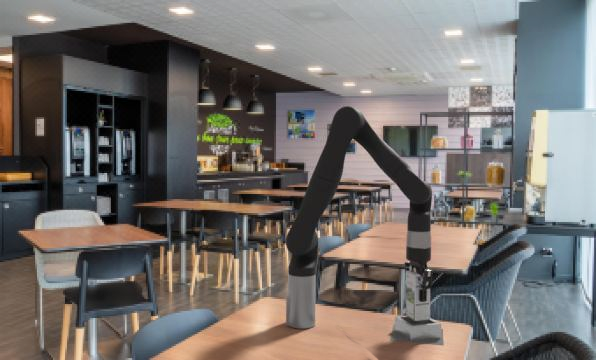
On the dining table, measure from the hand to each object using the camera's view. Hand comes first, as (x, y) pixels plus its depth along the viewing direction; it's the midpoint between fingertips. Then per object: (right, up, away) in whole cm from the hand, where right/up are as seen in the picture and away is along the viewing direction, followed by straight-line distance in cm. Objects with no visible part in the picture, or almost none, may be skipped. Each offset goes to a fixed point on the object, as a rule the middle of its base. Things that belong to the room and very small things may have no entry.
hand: (417, 298), depth 164 cm
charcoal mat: (0, -12, 0) cm, 13 cm away
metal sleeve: (0, -11, 0) cm, 11 cm away
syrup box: (0, -6, 0) cm, 6 cm away
